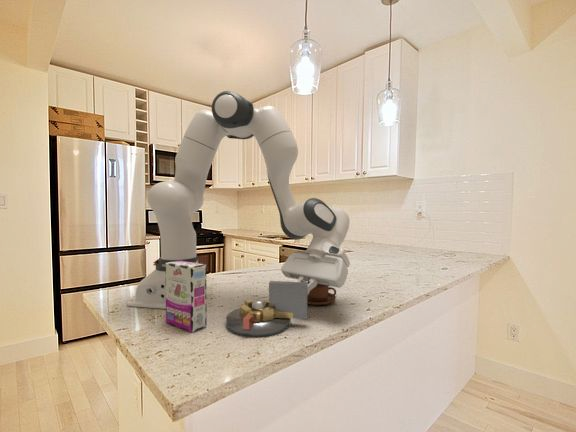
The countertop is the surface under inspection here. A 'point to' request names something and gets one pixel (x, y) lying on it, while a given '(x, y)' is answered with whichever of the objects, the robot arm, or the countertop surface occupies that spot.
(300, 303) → the gray slab gold ring
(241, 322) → the cap plate
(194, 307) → the candy bar box
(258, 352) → the countertop surface
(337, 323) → the countertop surface
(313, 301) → the cup and saucer
